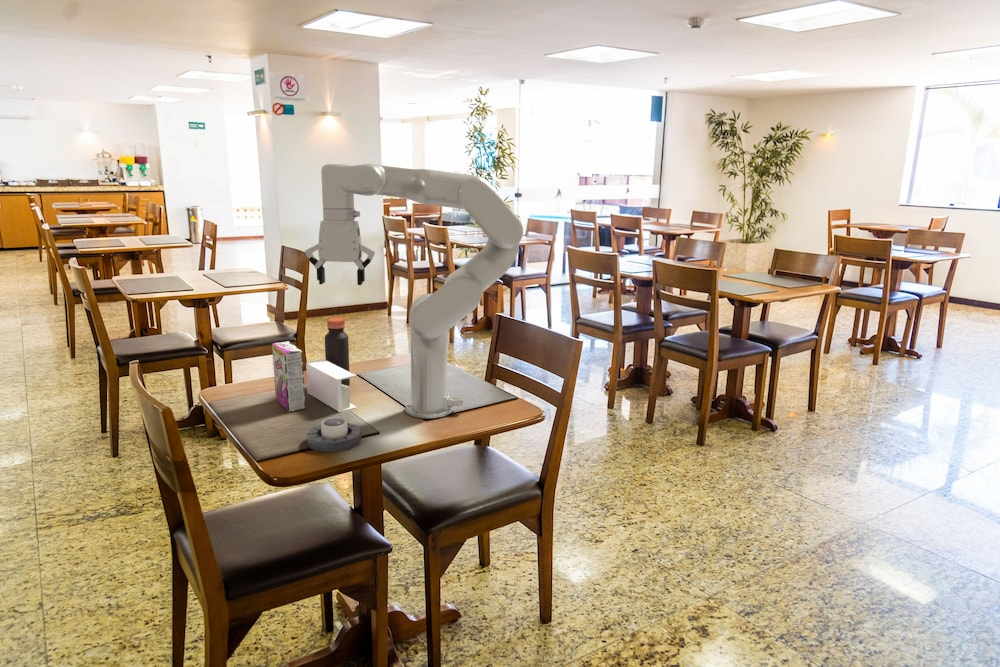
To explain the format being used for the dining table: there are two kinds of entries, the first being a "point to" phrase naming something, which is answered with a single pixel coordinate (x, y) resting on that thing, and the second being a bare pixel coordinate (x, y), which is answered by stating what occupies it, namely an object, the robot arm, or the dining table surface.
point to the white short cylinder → (334, 428)
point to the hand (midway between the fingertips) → (341, 283)
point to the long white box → (329, 384)
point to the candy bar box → (288, 375)
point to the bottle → (337, 345)
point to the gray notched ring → (334, 440)
